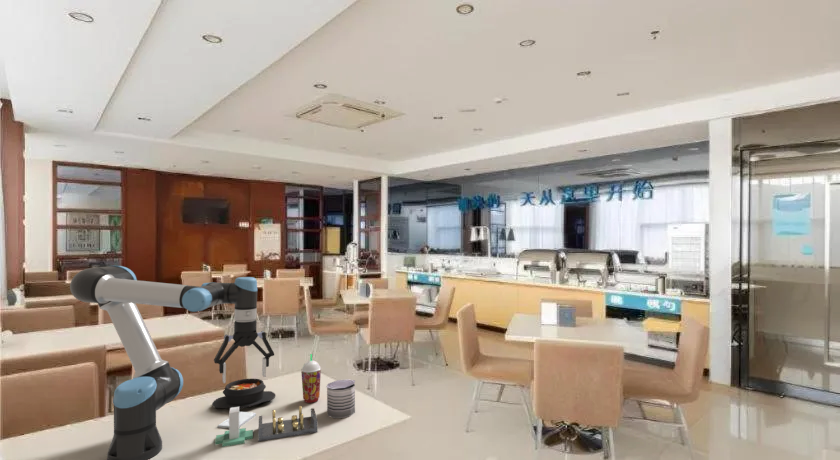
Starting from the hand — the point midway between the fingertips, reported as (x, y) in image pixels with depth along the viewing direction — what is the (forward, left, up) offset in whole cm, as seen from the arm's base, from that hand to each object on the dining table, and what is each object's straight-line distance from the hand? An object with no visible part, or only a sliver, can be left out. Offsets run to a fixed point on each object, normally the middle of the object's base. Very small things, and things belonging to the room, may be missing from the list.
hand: (244, 378), depth 156 cm
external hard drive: (-3, +12, -20) cm, 24 cm away
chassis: (+15, -3, -20) cm, 25 cm away
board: (-3, -3, -20) cm, 20 cm away
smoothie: (+26, +23, -20) cm, 40 cm away
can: (+36, +6, -20) cm, 41 cm away
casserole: (-1, +30, -20) cm, 36 cm away
